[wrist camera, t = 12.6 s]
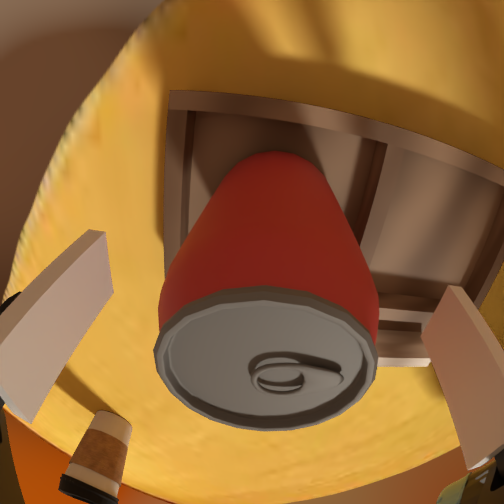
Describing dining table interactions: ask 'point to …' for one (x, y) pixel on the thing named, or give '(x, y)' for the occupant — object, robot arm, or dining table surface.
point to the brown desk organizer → (353, 198)
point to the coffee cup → (98, 461)
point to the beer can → (269, 303)
